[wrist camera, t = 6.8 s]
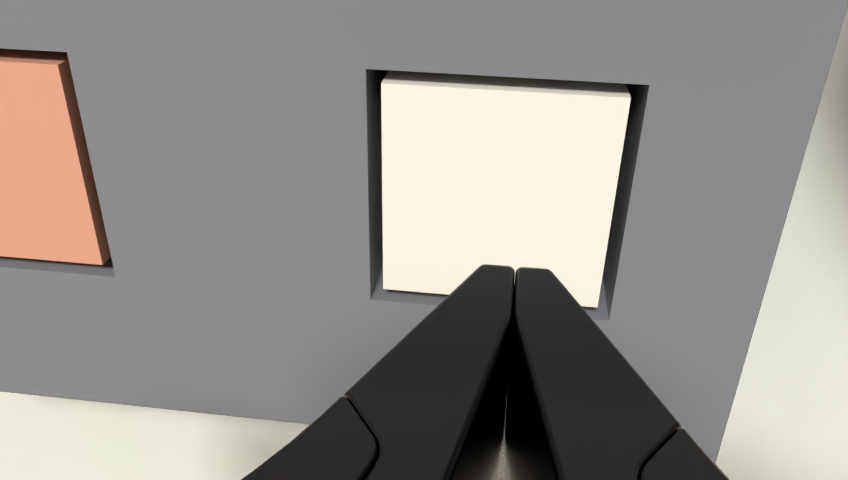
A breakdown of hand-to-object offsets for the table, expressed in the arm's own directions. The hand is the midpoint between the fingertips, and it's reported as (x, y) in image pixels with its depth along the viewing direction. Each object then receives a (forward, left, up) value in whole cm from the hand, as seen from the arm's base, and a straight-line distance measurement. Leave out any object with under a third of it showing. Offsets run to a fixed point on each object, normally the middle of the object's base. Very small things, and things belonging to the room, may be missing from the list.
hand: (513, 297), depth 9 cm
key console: (+6, +2, -13) cm, 15 cm away
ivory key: (0, +2, -11) cm, 11 cm away
